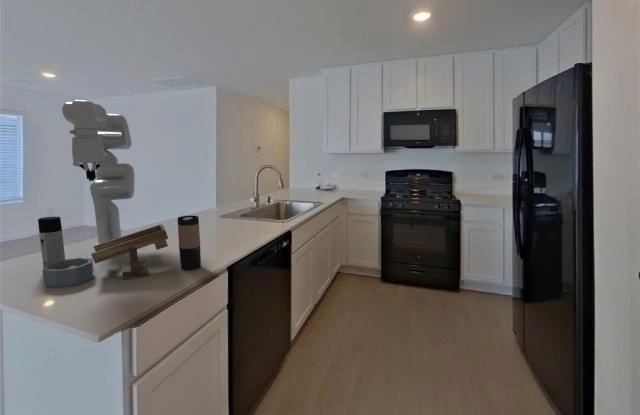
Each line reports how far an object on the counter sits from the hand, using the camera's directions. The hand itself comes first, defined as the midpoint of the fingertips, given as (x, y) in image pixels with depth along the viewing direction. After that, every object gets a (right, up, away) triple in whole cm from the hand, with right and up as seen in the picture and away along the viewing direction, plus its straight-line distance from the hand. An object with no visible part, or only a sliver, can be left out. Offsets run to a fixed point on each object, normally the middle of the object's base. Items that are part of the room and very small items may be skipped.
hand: (91, 180), depth 129 cm
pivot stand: (+21, -35, -6) cm, 41 cm away
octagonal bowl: (+4, -36, -16) cm, 40 cm away
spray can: (-10, -35, -5) cm, 36 cm away
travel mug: (+41, -34, -3) cm, 53 cm away
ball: (+5, -33, -16) cm, 37 cm away
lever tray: (+20, -28, -4) cm, 34 cm away
